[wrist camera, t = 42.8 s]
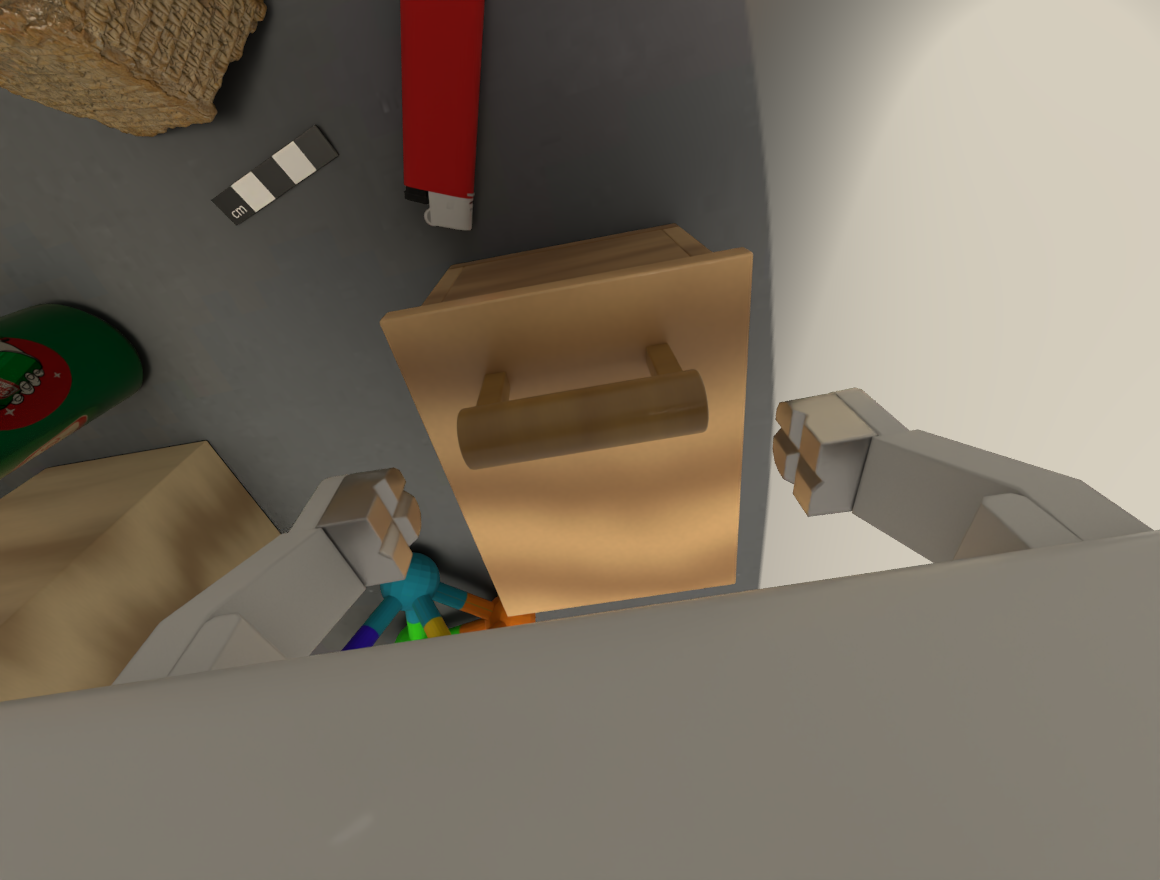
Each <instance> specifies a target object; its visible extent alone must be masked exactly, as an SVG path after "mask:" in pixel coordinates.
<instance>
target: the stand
mask: <svg viewBox="0 0 1160 880" xmlns="http://www.w3.org/2000/svg"><path fill="white" fill-rule="evenodd" d="M279 535H281V534H280V532H279V531H278V530H277V529H276V527H275V526H274V525H273V524H272V522H271V521H270V520H269V519H268V517H267V516H266V515H265V514H264V512H263V511H262V510H261V509H260V507H259V506H258V505H257V504H256V502H255V501H254V500H253V498H252V497H251V496H250V495H249V493H248V492H247V491H246V490H245V488H244V487H243V486H242V485H241V483H240V482H239V481H238V480H237V478H236V477H235V476H234V475H233V473H232V472H231V471H230V470H229V468H228V467H227V466H226V464H225V463H224V462H223V461H222V459H221V458H220V457H219V456H218V454H217V453H216V452H215V451H214V449H213V448H212V447H211V446H210V444H209V443H208V442H207V441H201V442H196V443H190V444H184V445H178V446H172V447H167V448H161V449H155V450H149V451H143V452H138V453H132V454H126V455H120V456H114V457H109V458H103V459H97V460H91V461H85V462H80V463H74V464H68V465H62V466H56V467H51V468H46V469H45V470H43V471H42V472H40V473H39V474H37V475H36V476H34V477H33V478H31V479H30V480H28V481H27V482H25V483H24V484H22V485H21V486H19V487H18V488H16V489H15V490H13V491H12V492H10V493H9V494H7V495H6V496H4V497H3V498H1V499H0V702H2V701H9V700H16V699H23V698H29V697H36V696H43V695H50V694H56V693H63V692H70V691H76V690H83V689H90V688H97V687H103V686H110V685H112V683H113V682H114V681H115V680H116V678H117V677H118V676H119V674H120V673H121V672H122V671H123V669H124V668H125V667H126V665H127V664H128V663H129V661H130V660H131V659H132V658H133V656H134V655H135V654H136V652H137V651H138V650H139V649H140V647H141V646H142V645H143V643H144V642H145V641H146V640H147V638H148V637H149V636H150V634H151V633H152V632H153V630H154V629H155V628H156V627H157V625H158V624H159V623H160V622H161V621H162V620H164V619H165V618H167V617H168V616H169V615H171V614H172V613H173V612H175V611H176V610H178V609H179V608H180V607H182V606H183V605H184V604H186V603H187V602H189V601H190V600H191V599H193V598H194V597H195V596H197V595H198V594H200V593H201V592H202V591H204V590H205V589H206V588H208V587H209V586H211V585H212V584H213V583H215V582H216V581H217V580H219V579H220V578H222V577H223V576H224V575H226V574H227V573H228V572H230V571H231V570H233V569H234V568H235V567H237V566H238V565H239V564H241V563H242V562H244V561H245V560H246V559H248V558H249V557H250V556H252V555H253V554H255V553H256V552H257V551H259V550H260V549H261V548H263V547H264V546H266V545H267V544H268V543H270V542H271V541H272V540H274V539H275V538H277V537H278V536H279Z"/></svg>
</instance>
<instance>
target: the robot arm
mask: <svg viewBox="0 0 1160 880" xmlns="http://www.w3.org/2000/svg"><path fill="white" fill-rule="evenodd" d="M776 421H777V422H778V424H779V425H780V426H781V429H780V430H779V431H778V432H777V433H776V435H775V436H774V438H773V454H774V460H775V464H776V466H777V469H778V471H779V473H780V474H781V476H782V478H783V479H784V480H786V481H788V482H790V483H792V484H794V490H793V495H794V496H795V497H796V499H797V501H798V502H799V504H800V505H801V507H802V508H803V510H804V511H805V513H806V514H807V516H808V517H810V516H817V515H825V514H833V513H840V512H848V511H852V513H853V514H855V515H856V516H858V517H859V518H861V519H863V520H864V521H866V522H868V523H869V524H871V525H872V526H874V527H876V528H877V529H879V530H881V531H882V532H884V533H886V534H888V535H889V536H891V537H892V538H894V539H895V540H897V541H899V542H900V543H902V544H904V545H905V546H907V547H909V548H910V549H912V550H913V551H915V552H917V553H918V554H920V555H922V556H923V557H925V558H927V559H928V560H930V561H932V562H933V564H926V565H919V566H912V567H906V568H899V569H892V570H886V571H880V572H873V573H865V574H859V575H852V576H845V577H839V578H832V579H825V580H819V581H812V582H805V583H798V584H791V585H784V586H778V587H771V588H764V589H757V590H751V591H744V592H737V593H730V594H723V595H717V596H710V597H703V598H696V599H690V600H683V601H676V602H669V603H662V604H656V605H649V606H642V607H636V608H629V609H622V610H615V611H609V612H602V613H595V614H588V615H582V616H575V617H568V618H561V619H555V620H548V621H541V622H535V623H528V624H521V625H514V626H508V627H501V628H494V629H487V630H481V631H474V632H467V633H460V634H454V635H447V636H440V637H434V638H427V639H420V640H413V641H407V642H400V643H393V644H386V645H380V646H373V647H366V648H359V649H353V650H346V651H339V652H332V653H326V654H319V655H312V656H309V655H310V653H311V652H312V651H313V650H314V649H315V648H316V646H317V645H318V644H319V643H320V642H321V641H322V640H323V638H324V637H325V636H326V635H327V634H328V633H329V631H330V630H331V629H332V628H333V627H334V626H335V624H336V623H337V622H338V621H339V620H340V619H341V617H342V616H343V615H344V614H345V613H346V612H347V610H348V609H349V608H350V607H351V606H352V605H353V604H354V602H355V601H356V600H357V599H358V598H359V597H360V595H361V594H362V593H363V592H364V591H365V590H366V587H367V586H373V585H378V584H384V583H389V582H394V581H400V580H405V578H406V575H407V571H408V568H409V565H410V562H411V559H412V556H413V553H412V552H411V550H410V548H409V546H410V545H411V544H412V543H413V542H414V541H415V540H416V539H417V538H418V536H419V533H420V529H421V513H420V509H419V506H418V503H417V501H416V499H415V497H414V496H412V495H411V494H409V493H407V492H406V491H404V490H403V489H404V486H405V483H406V481H405V479H404V477H403V475H402V474H401V472H400V470H398V469H396V468H387V469H380V470H373V471H367V472H360V473H353V474H349V475H341V476H335V477H329V478H326V479H324V480H322V481H321V483H320V484H319V486H318V487H317V489H316V490H315V492H314V494H313V495H312V497H311V498H310V500H309V501H308V503H307V505H306V506H305V508H304V509H303V511H302V512H301V514H300V516H299V517H298V519H297V520H296V522H295V523H294V525H293V527H292V528H291V530H290V531H289V533H285V534H281V535H279V536H278V537H277V538H275V539H274V540H272V541H271V542H270V543H268V544H267V545H266V546H264V547H263V548H261V549H260V550H259V551H257V552H256V553H255V554H253V555H252V556H250V557H249V558H248V559H246V560H245V561H244V562H242V563H241V564H239V565H238V566H237V567H235V568H234V569H233V570H231V571H230V572H228V573H227V574H226V575H224V576H223V577H222V578H220V579H219V580H217V581H216V582H215V583H213V584H212V585H211V586H209V587H208V588H206V589H205V590H204V591H202V592H201V593H200V594H198V595H197V596H195V597H194V598H193V599H191V600H190V601H189V602H187V603H186V604H184V605H183V606H182V607H180V608H179V609H178V610H176V611H175V612H173V613H172V614H171V615H169V616H168V617H167V618H165V619H164V620H162V621H161V622H160V623H159V624H158V625H157V627H156V628H155V629H154V630H153V632H152V633H151V634H150V636H149V637H148V638H147V640H146V641H145V642H144V643H143V645H142V646H141V647H140V649H139V650H138V651H137V652H136V654H135V655H134V656H133V658H132V659H131V660H130V661H129V663H128V664H127V665H126V667H125V668H124V669H123V671H122V672H121V673H120V674H119V676H118V677H117V678H116V680H115V681H114V682H113V683H112V685H110V686H103V687H97V688H90V689H83V690H76V691H70V692H63V693H56V694H50V695H43V696H36V697H29V698H23V699H16V700H9V701H2V702H0V880H1160V530H1156V531H1154V530H1153V529H1151V528H1149V527H1148V526H1147V525H1145V524H1144V523H1142V522H1141V521H1139V520H1138V519H1137V518H1135V517H1134V516H1132V515H1131V514H1129V513H1128V512H1126V511H1125V510H1123V509H1122V508H1121V507H1119V506H1118V505H1116V504H1115V503H1113V502H1112V501H1110V500H1108V499H1107V498H1106V497H1105V496H1103V495H1101V494H1100V493H1099V492H1097V491H1096V490H1094V489H1093V488H1091V487H1090V486H1089V485H1087V484H1086V483H1084V482H1083V481H1081V480H1079V479H1075V478H1072V477H1069V476H1066V475H1063V474H1059V473H1056V472H1053V471H1050V470H1046V469H1043V468H1040V467H1036V466H1034V465H1030V464H1027V463H1024V462H1021V461H1018V460H1014V459H1011V458H1008V457H1005V456H1001V455H998V454H995V453H992V452H989V451H985V450H982V449H979V448H976V447H973V446H969V445H966V444H963V443H960V442H957V441H953V440H950V439H947V438H944V437H941V436H937V435H934V434H931V433H927V432H925V431H921V430H912V431H909V430H908V429H907V428H906V427H905V426H903V425H902V424H901V423H900V422H899V421H898V420H896V419H895V418H894V417H893V416H892V415H891V414H890V413H888V412H887V411H886V410H885V409H884V408H883V407H882V406H880V405H879V404H878V403H876V401H875V400H873V399H872V398H871V397H870V396H869V395H868V394H866V393H865V392H864V391H863V390H862V389H858V388H850V389H845V390H841V391H836V392H831V393H829V394H823V395H818V396H812V397H807V398H801V399H796V400H790V401H785V402H780V403H779V405H778V407H777V411H776Z"/></svg>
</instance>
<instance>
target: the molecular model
mask: <svg viewBox="0 0 1160 880" xmlns="http://www.w3.org/2000/svg"><path fill="white" fill-rule="evenodd" d="M412 553H413V556H412V559H411V562H410V565H409V568H408V571H407V575H406V578H405V580H400V581H394V582H389V583H384V584H380V590H381V593H382V596H383V598H384V600H383V601H382V602H381V603H380V605H379V606H378V607H377V608H376V609H375V611H374V612H373V613H372V614H371V615H370V617H369V618H368V619H367V620H366V621H365V623H364V624H363V625H362V626H361V628H360V629H359V630H358V631H357V632H356V634H355V635H354V636H353V637H352V638H351V640H350V641H349V642H348V643H347V645H346V646H345V647H344V648H343V649H342V651H346V650H353V649H359V648H366V647H372V646H373V644H374V643H375V642H376V640H377V639H378V638H379V637H380V635H381V634H382V633H383V631H384V630H385V629H386V627H387V626H388V625H389V624H390V622H391V621H392V620H393V618H394V617H395V616H396V614H397V613H398V612H399V611H400V610H401V611H405V613H406V619H407V626H406V627H405V628H404V629H403V630H402V631H401V632H400V633H399V635H398V636H397V638H396V641H395V643H400V642H407V641H413V640H420V639H427V638H434V637H440V636H447V635H454V634H460V633H467V632H474V631H481V630H487V629H494V628H501V627H508V626H514V625H521V624H528V623H535V618H536V617H535V613H530V614H523V615H516V616H507V614H506V611H505V609H504V607H503V604H502V602H501V600H500V598H499V596H497V597H496V598H495V599H494V600H493V601H492V602H491V601H488V600H486V599H483V598H480V597H478V596H475V595H473V594H470V593H467V592H465V591H462V590H460V589H457V588H454V587H452V586H449V585H447V584H444V583H442V582H440V574H439V571H438V568H437V566H436V564H435V563H434V562H433V560H432V559H431V558H429V557H428V556H426V555H424V554H421V553H414V552H412ZM433 600H434V601H437V602H439V603H442V604H445V605H448V606H450V607H453V608H456V609H459V610H461V611H464V612H467V613H469V614H472V615H475V616H478V617H480V618H482V619H478V620H475V621H472V622H469V623H466V624H462V625H459V626H456V627H453V628H449V629H448V628H447V626H446V624H445V622H444V620H443V619H442V617H441V615H440V613H439V611H438V609H437V608H436V606H435V604H434V602H433Z"/></svg>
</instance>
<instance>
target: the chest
mask: <svg viewBox="0 0 1160 880" xmlns="http://www.w3.org/2000/svg"><path fill="white" fill-rule="evenodd" d="M707 253H713V252H711V251H710V250H709V249H708V248H706V247H705V246H704V245H702V244H701V243H700V242H699V241H697V240H696V239H695V238H693V237H692V236H691V235H690V234H688V233H687V232H686V231H684V230H683V229H682V228H681V227H679V226H678V225H677V224H675V223H673V224H668V225H662V226H657V227H652V228H647V229H641V230H636V231H631V232H625V233H620V234H615V235H609V236H604V237H599V238H593V239H588V240H583V241H578V242H572V243H567V244H562V245H556V246H551V247H546V248H540V249H535V250H530V251H524V252H519V253H514V254H509V255H503V256H498V257H493V258H487V259H482V260H477V261H471V262H466V263H461V264H455V265H451V266H450V267H449V269H448V270H447V271H446V273H445V274H444V275H443V277H442V278H441V280H440V281H439V282H438V284H437V285H436V286H435V288H434V289H433V290H432V292H431V293H430V295H429V296H428V297H427V299H426V300H425V301H424V303H423V304H422V305H421V306H425V305H430V304H436V303H441V302H447V301H452V300H458V299H463V298H468V297H474V296H479V295H485V294H490V293H496V292H501V291H506V290H512V289H517V288H523V287H528V286H534V285H539V284H544V283H550V282H555V281H561V280H566V279H572V278H577V277H582V276H588V275H593V274H599V273H604V272H610V271H615V270H620V269H626V268H631V267H637V266H642V265H648V264H653V263H658V262H664V261H669V260H675V259H680V258H686V257H691V256H696V255H702V254H707Z"/></svg>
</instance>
